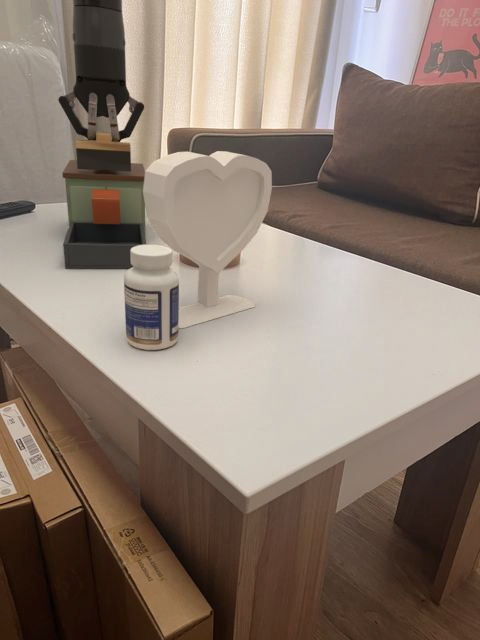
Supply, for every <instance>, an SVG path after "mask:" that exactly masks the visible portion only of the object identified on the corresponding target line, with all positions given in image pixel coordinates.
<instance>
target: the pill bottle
mask: <svg viewBox="0 0 480 640" xmlns="http://www.w3.org/2000/svg"><path fill="white" fill-rule="evenodd" d="M130 253H131V255H130V256H131V264H132V265H133V267H132V268H130V269H127V270H126V272H125V274H124V275H123V293H124V317H125V319H124V320H125V335H126V337H125V338H126V341H127V343H128V344H130V345H131V346H132V347H134V348H137V349H139V350H145V351H146V350H147V351H156V350H157V351H159V350H162V349H163V350H164V349H166V348H170V347H172V346H174V345H175V344H176V343H177V342H178V340H179V333H180V331H179V329H180V328H179V308H180V307H179V306H180V277H179V274H178V273H177V271H176V270H175V269H173V268H171V266H172V265H173V249H172V248H170V247H169V246H165V245H161V244H147V245H138V246H135V247H133V248H131V250H130Z"/></svg>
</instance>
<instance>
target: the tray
mask: <svg viewBox="0 0 480 640" xmlns="http://www.w3.org/2000/svg"><path fill="white" fill-rule="evenodd" d="M145 232H146V231H145ZM145 232H144V226H143V223H121V224H94V223H93V222H72V221H71V222H70V225H69V224H68V228H67V231H66V234H65V238H64V241H63V245H62V248H63V259H64V260H63V261H64V269H65V270H66V269H67V270H68V269H69V270H71V269H73V270H74V269H75V270H76V269H77V270H78V269H79V270H83V269H85V270H86V269H87V270H88V269H89V270H90V269H91V270H93V269H94V270H129V269H130V268H132V267H133V265H132V264H131V256H130V255H131V253H130V250H131V248H133V247H135V246H138V245H148V243H147V236H146V237H145Z"/></svg>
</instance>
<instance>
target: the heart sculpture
mask: <svg viewBox="0 0 480 640" xmlns="http://www.w3.org/2000/svg"><path fill="white" fill-rule="evenodd" d="M272 172H273V171H272V170H271V168H270V167H269V165H268V164H267V163H266V162H265V161H263V160H261V159H259V158H257V157H253V156H250V155H246V154H240V153H235V152H231V151H226V150H225V151H222V150H221V151H220V150H217V151H215V152H213V153H211V154H210V155H206V154H202V153H196V152H193V151H177V152H174V153H170V154H166V155H164V156H162V157H160V158H158V159H156V160H153V162H152V163H151V164H150V165H149V166H148V167H147V168H146V169H145V178H144V186H143V195H144V202H145V216H146V218H147V220H148V221H149V223H150V225H151V226H152V229H153V230H154V232H155V234H156V235H157V237H158V239H159V240H161V242H163V243H164V244H165V245H167V247H168V248H170V249H171V250H172V251H174V252H176V253H177V254H179V255H181V256H183V257H184V258H187V260H190V261H192V262H193V263H195V264H196V265H198V282H197V283H198V284H197V285H198V286H197V287H198V288H197V302H196V303H192V304H188V305H184V306H180V307H179V329H185V328H188V327H192V326H195V325H198V324H201V323H205V322H209V321H212V320H215V319H219V318H222V317H226V316H229V315H232V314H236V313H239V312H243V311H245V310H249V309H252V308H256V305H255V304H254V303H253V302H252V301H251V300H250V299H248V298H245V297H243V296H237V295H232V294H226V295H223V296H219V279H220V274H221V272H223V271H224V269H225V268H226V267H227V266H228V265H229V264H230V263H231V262H232V261H233V260H234V259H235V258H236V257H237V256H239V254H241V253H242V251H244V250H245V248H247V246H248V245H249V244H250V242H251V241H252V240H253V238H254V237H255V236H256V235H257V233H258V232H259V230H260V228H261V225H262V223H263V222H264V220H265V218H266V215H267V213H268V212H269V205H270V202H271V201H270V200H271V196H272V191H273V182H272V181H273V178H272V177H273V176H272V174H273V173H272Z"/></svg>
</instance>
